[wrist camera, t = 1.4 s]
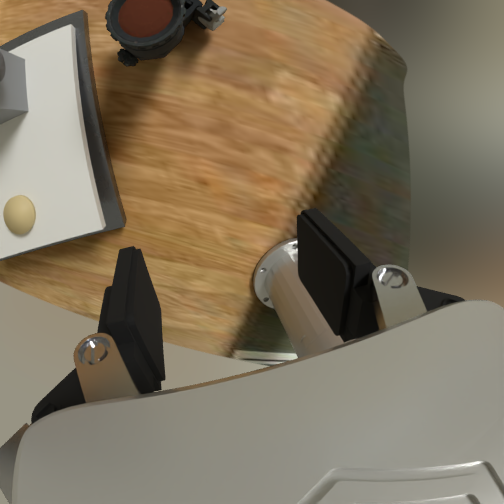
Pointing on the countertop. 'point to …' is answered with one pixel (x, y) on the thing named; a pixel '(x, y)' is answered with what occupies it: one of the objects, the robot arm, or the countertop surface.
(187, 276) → the countertop surface
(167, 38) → the scope
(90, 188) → the leveling plate
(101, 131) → the leveling base
